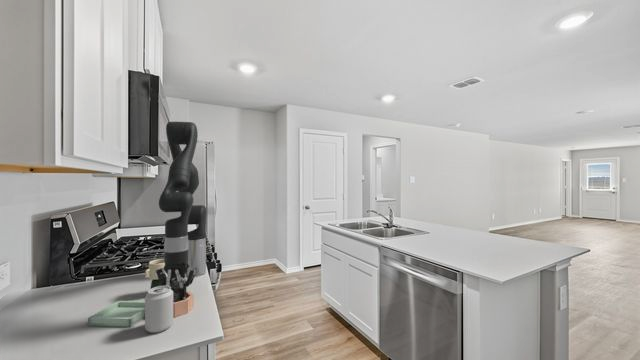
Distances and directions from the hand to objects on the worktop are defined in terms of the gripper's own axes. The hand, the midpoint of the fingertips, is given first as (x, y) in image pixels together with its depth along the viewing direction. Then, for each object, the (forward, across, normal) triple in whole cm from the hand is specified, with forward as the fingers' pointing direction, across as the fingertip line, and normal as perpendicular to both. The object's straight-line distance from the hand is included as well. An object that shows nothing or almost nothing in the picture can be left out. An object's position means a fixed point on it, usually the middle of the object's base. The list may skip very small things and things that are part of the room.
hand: (176, 297), depth 94 cm
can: (+5, -1, +11) cm, 12 cm away
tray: (+4, +15, +5) cm, 16 cm away
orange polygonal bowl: (+4, 0, 0) cm, 4 cm away
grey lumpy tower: (+5, 0, 0) cm, 5 cm away
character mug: (+5, +15, -13) cm, 20 cm away
